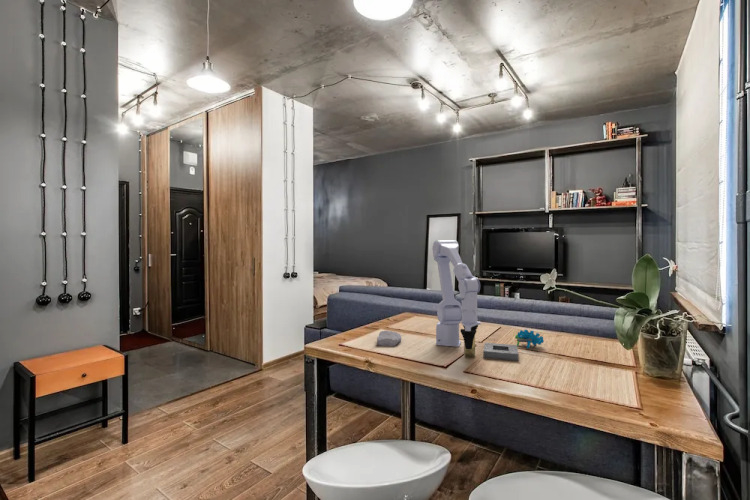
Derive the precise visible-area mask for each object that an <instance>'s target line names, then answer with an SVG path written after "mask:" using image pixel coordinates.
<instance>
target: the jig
mask: <svg viewBox="0 0 750 500" xmlns="http://www.w3.org/2000/svg"><path fill="white" fill-rule="evenodd" d="M482 357H483V359H493V360H503V361H512V362H519V349H518V346H517V344H509V343H495V342H484V346H483V356H482Z"/></svg>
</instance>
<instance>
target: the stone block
mask: <svg viewBox="0 0 750 500" xmlns="http://www.w3.org/2000/svg"><path fill="white" fill-rule="evenodd" d="M401 341H402V335H401V334H400V333H399V332H397V331H392V330H382V331H380V332H379V333H378V336H377V337H376V342H377V343H376V345H378V347H395V346H396V345H398V344H400V343H401Z"/></svg>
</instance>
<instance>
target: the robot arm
mask: <svg viewBox="0 0 750 500" xmlns="http://www.w3.org/2000/svg"><path fill="white" fill-rule="evenodd" d="M459 248H460V246H459V242H458V241H457V240H456V239H453V240H451V239H447V240H445V239H444V240H443V239H442V240H441V239H440V240H437V239H435V240H434V242H433V244H432V248H431V249H432V256H433V261H435V262H436V263H437V270H438V275H439V276H438V277H439V282H440V290H441V297H442V300H441V301H439V303H438V304H437V305H436V306H437V307H436V308H437V309H436V310H437V311H436V312H437V313H436V316H437V320H438V322H437V323H436V327H435V328H436V329H435V335H436V336H435V338H436V339H435V341H436V342H435V346H445V347H457V348H459V347H460V346H461V343H462V340H460V334H461V335H462V337H463V344H464V343H465V347H466V349H472V346H473V339H474V337H475V338H476V334H477V329H478V327H479V325H480V326H481V321H478V294H479V292H480V290H481V282H480V280H479V277H476V276H474V275H473V274H472V272H471V270H470V268H469V267H468V265H467V264H466V263H463V261H462V258H461V256H460V254H459ZM450 264H452V266H453V267H454V268H453V273H454V275H455V277H456V280H457V281H458V287H457V288H458V291H459V297H460V298H461V302H460V301H458V300H457V299H456V298H455V293H454V286H453V282H452V281H453V279H452V274H451V269H450V267H451V266H450ZM460 324H461V325H462V327H463V328H460Z"/></svg>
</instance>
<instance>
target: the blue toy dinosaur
mask: <svg viewBox="0 0 750 500" xmlns="http://www.w3.org/2000/svg"><path fill="white" fill-rule="evenodd" d="M534 333H535V331H534V330H530V332H529V330H528V329H524V330H522V329H520V330H519V331H518V332H517V334H515V336H514V339H516V341H517V343H516V345H517V347H519V345H520V343H526V349H528V350H529V349H530V346H531V344H532V345H533V346H537V345H538V346H540V345H542V344H544V341H545V340H544V337H543V336H540V333H538V332H536V333H535V334H534Z"/></svg>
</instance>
